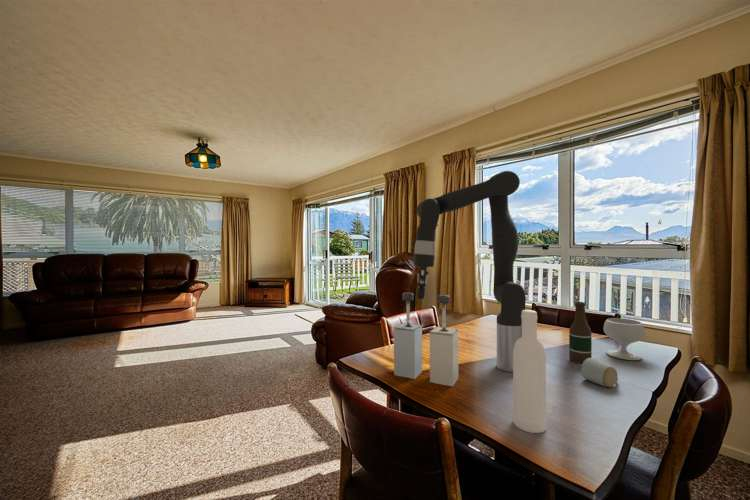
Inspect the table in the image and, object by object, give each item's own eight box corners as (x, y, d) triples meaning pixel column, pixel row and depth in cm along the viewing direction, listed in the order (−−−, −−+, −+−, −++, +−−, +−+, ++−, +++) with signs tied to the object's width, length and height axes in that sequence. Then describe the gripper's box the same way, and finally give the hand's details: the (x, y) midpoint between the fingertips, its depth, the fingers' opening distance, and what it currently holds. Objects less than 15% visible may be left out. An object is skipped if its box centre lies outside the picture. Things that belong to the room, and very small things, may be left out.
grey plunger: (418, 332, 120) (418, 292, 119) (412, 336, 114) (412, 295, 114) (403, 330, 122) (403, 291, 122) (397, 334, 117) (397, 293, 117)
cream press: (458, 377, 114) (458, 329, 114) (452, 386, 107) (452, 334, 107) (436, 373, 118) (436, 326, 117) (429, 382, 111) (429, 331, 110)
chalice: (599, 349, 144) (599, 316, 144) (637, 352, 139) (637, 318, 139) (609, 359, 131) (609, 323, 131) (651, 363, 126) (651, 326, 126)
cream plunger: (454, 336, 113) (454, 295, 113) (450, 341, 108) (450, 297, 108) (438, 334, 116) (438, 294, 116) (433, 338, 111) (433, 296, 111)
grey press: (422, 371, 120) (422, 324, 120) (414, 379, 113) (414, 329, 113) (402, 367, 124) (402, 322, 124) (394, 375, 117) (393, 327, 117)
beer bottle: (571, 363, 128) (571, 303, 128) (567, 356, 135) (567, 300, 135) (594, 365, 125) (594, 304, 125) (589, 359, 132) (589, 301, 132)
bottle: (552, 427, 82) (552, 311, 82) (535, 437, 78) (535, 315, 78) (524, 414, 89) (524, 307, 89) (506, 422, 85) (506, 310, 85)
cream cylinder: (604, 390, 103) (605, 366, 103) (580, 380, 111) (580, 358, 111) (625, 385, 107) (625, 362, 107) (600, 376, 115) (600, 355, 115)
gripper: (435, 254, 110) (431, 300, 110) (434, 254, 124) (431, 296, 124) (413, 252, 111) (409, 298, 111) (415, 253, 125) (412, 294, 125)
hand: (421, 297), depth 118 cm, fingers open, 8 cm apart
